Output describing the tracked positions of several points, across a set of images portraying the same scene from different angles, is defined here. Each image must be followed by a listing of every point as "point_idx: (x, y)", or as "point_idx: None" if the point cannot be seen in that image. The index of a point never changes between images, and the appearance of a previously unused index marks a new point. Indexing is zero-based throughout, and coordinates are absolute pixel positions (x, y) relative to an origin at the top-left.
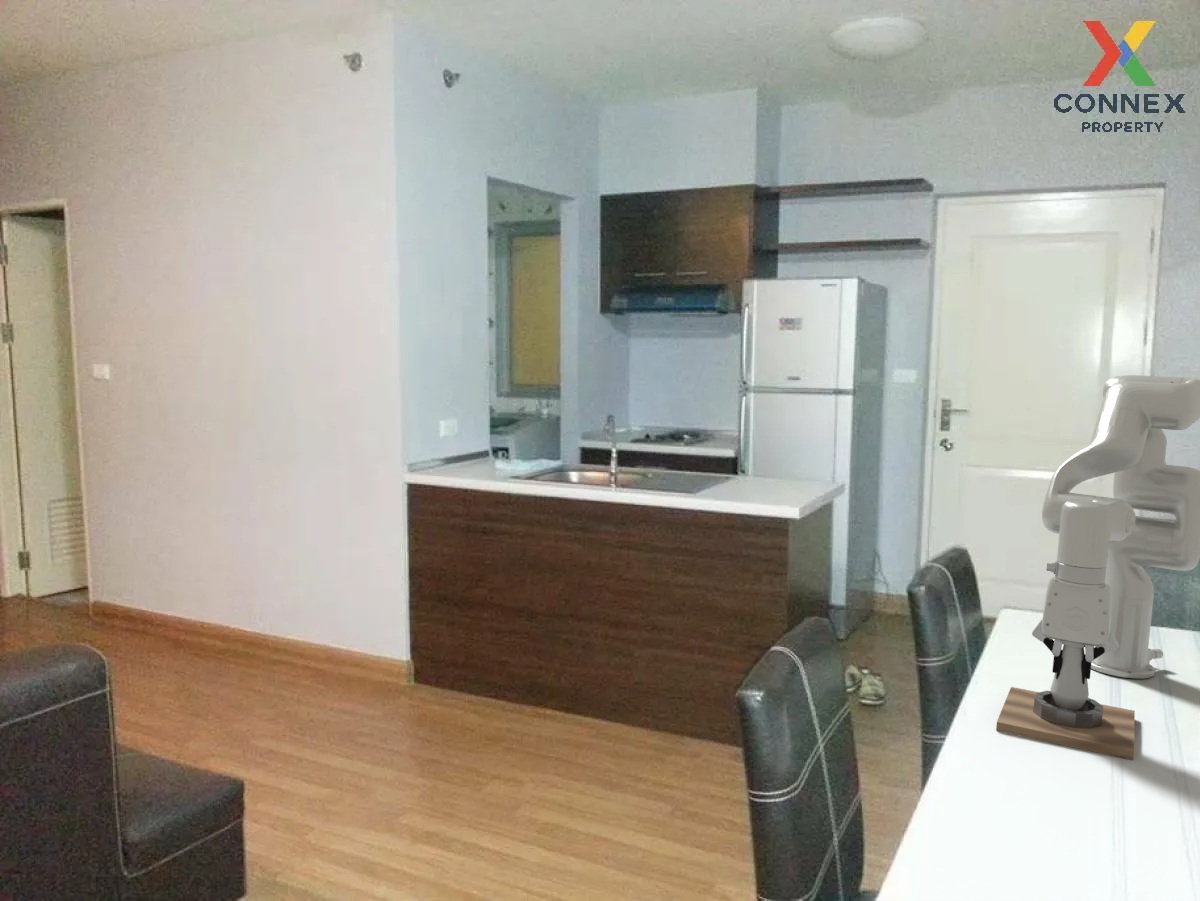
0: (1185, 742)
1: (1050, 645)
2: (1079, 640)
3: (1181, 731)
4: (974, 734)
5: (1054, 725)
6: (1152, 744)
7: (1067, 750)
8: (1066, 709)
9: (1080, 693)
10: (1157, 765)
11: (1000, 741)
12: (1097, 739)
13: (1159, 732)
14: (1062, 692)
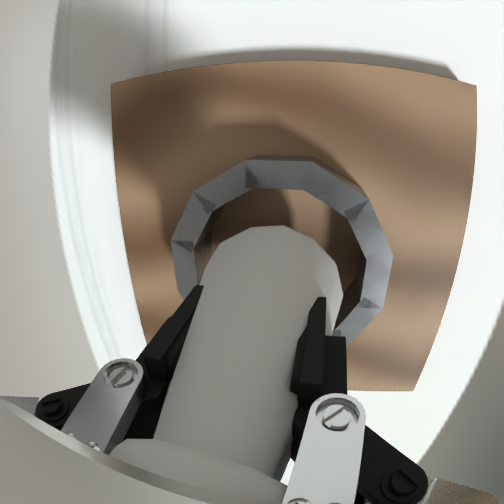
0: (73, 268)
1: (376, 463)
2: (82, 473)
3: (91, 319)
4: (497, 41)
5: (317, 141)
6: (105, 220)
7: (270, 36)
8: (280, 187)
9: (221, 250)
10: (87, 96)
11: (439, 15)
12: (189, 98)
13: (110, 299)
14: (295, 239)
